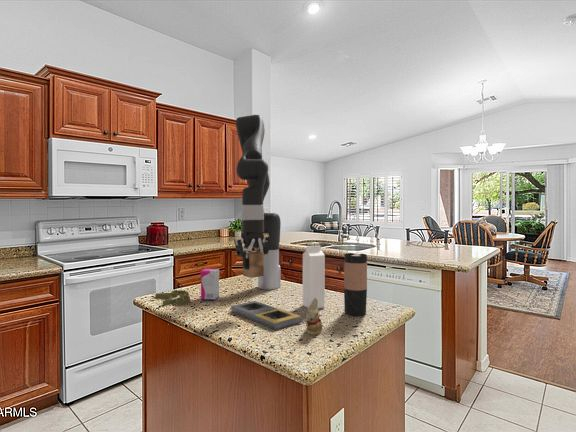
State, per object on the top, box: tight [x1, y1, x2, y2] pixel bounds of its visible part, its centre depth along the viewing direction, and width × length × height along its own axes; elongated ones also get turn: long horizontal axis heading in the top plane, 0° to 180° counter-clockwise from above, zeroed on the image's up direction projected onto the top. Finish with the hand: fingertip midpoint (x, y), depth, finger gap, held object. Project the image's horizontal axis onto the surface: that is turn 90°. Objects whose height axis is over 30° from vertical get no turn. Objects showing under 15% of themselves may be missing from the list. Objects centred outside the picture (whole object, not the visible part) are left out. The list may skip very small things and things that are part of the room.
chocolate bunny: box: [305, 298, 323, 336], centre depth 102 cm, size 6×8×10 cm
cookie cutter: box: [154, 289, 191, 307], centre depth 137 cm, size 18×12×2 cm, turn 32°
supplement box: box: [200, 268, 220, 302], centre depth 138 cm, size 6×6×12 cm
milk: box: [302, 245, 326, 309], centre depth 127 cm, size 6×6×22 cm
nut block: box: [242, 250, 264, 279], centre depth 120 cm, size 5×5×8 cm
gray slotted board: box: [230, 300, 301, 331], centre depth 115 cm, size 10×24×2 cm, turn 41°
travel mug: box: [343, 252, 368, 317], centre depth 120 cm, size 8×8×20 cm
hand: (253, 267), depth 120 cm, fingers closed on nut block, 5 cm apart
